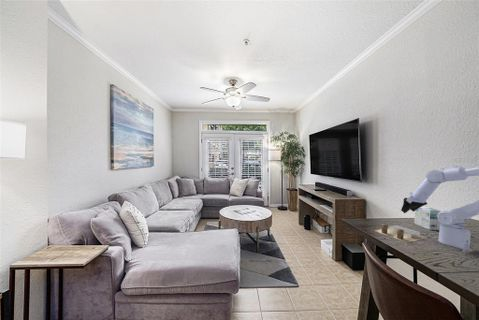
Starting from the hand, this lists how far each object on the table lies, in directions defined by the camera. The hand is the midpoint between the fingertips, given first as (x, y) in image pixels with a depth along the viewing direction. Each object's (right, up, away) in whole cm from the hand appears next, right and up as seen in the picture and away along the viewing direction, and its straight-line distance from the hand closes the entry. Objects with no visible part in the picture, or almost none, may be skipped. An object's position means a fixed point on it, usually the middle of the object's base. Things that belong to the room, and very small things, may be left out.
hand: (407, 210), depth 112 cm
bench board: (-10, -10, -8) cm, 17 cm away
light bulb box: (+18, -11, +9) cm, 23 cm away
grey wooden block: (-7, -9, -7) cm, 13 cm away
